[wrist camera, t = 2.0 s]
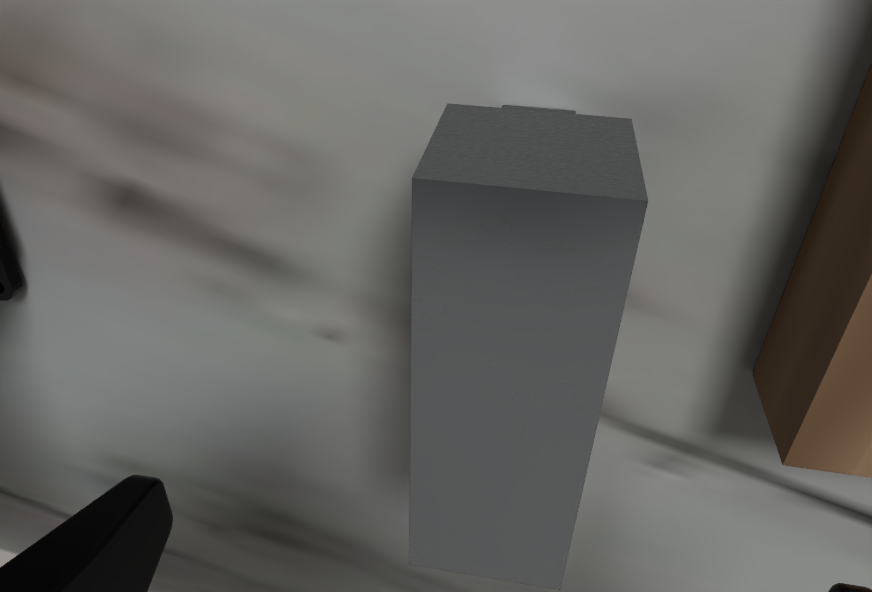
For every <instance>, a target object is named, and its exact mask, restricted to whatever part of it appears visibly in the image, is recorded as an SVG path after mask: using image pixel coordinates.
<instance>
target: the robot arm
mask: <svg viewBox="0 0 872 592" xmlns="http://www.w3.org/2000/svg"><path fill="white" fill-rule="evenodd" d="M22 286H23V285H22V279H21V277H20V274H19V272H18V269H17V266H16V264H15V261H14V259H13V256H12V253H11V251H10V248H9V245H8V243H7V240H6V238H5V235H4V232H3V230H2V227H1V224H0V301H5V300H9V299H10V298H12V297H13V296H14V295H16V294H17V293H18V292H19V291H20V290H21V289H22ZM172 521H173V516H172V511H171V507H170V504H169V501H168V498H167V494H166V491H165V488H164V484H163V482H162V481H161V480H160V479H159V478H155V477H149V476H142V475H132V476H129V477H127V478H126V479H124V480H123V481H121V482H120V483H118V484H117V485H116V486H114V487H113V488H111V489H110V490H109V491H107V492H106V493H104V494H103V495H101V496H100V497H99V498H97V499H96V500H94V501H93V502H92V503H90V504H89V505H87V506H86V507H85V508H83V509H82V510H80V511H79V512H78V513H76V514H75V515H73V516H72V517H71V518H69V519H68V520H66V521H65V522H64V523H62V524H61V525H59V526H58V527H57V528H55V529H54V530H52V531H51V532H50V533H48V534H47V535H45V536H44V537H43V538H41V539H40V540H38V541H37V542H35V543H34V544H33V545H31V546H30V547H28V548H27V549H26V550H24V551H23V552H21V553H20V554H19V555H17V556H16V557H15V558H13V559H12V560H10V561H9V562H7V563H6V564H5V565H3V566H2V567H0V592H147V591H148V589H149V586H150V583H151V581H152V578H153V576H154V573H155V570H156V568H157V565H158V563H159V560H160V557H161V555H162V552H163V550H164V547H165V544H166V542H167V539H168V537H169V534H170V531H171V527H172ZM829 592H872V590H871V589H869V588H866V587H862V586H856V585H849V584H843V583H837V584H835V585H833V586H832V587H831V588H830V590H829Z"/></svg>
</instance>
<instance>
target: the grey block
mask: <svg viewBox="0 0 872 592" xmlns="http://www.w3.org/2000/svg"><path fill="white" fill-rule="evenodd" d="M647 203H648V198H647V193H646V188H645V183H644V178H643V173H642V168H641V163H640V158H639V153H638V149H637V144H636V139H635V134H634V129H633V124H632V119H628V118H616V117H604V116H592V115H580V114H576V111H571V110H559V109H546V108H534V107H522V106H510V105H503V107H502V108H495V107H483V106H471V105H459V104H447V106H446V108H445V110H444V112H443V114H442V116H441V118H440V120H439V122H438V125H437V127H436V129H435V131H434V133H433V135H432V137H431V139H430V141H429V144H428V146H427V148H426V150H425V152H424V154H423V156H422V158H421V160H420V163H419V165H418V167H417V169H416V171H415V173H414V175H413V177H412V271H411V398H410V525H409V564H410V565H416V566H422V567H428V568H434V569H440V570H446V571H452V572H458V573H464V574H470V575H476V576H482V577H488V578H494V579H499V580H505V581H511V582H517V583H523V584H529V585H535V586H541V587H547V588H553V589H559V590H560V587H561V583H562V578H563V574H564V570H565V565H566V561H567V556H568V552H569V548H570V543H571V539H572V534H573V530H574V525H575V521H576V517H577V512H578V508H579V503H580V499H581V495H582V490H583V486H584V481H585V477H586V472H587V468H588V464H589V459H590V455H591V450H592V446H593V442H594V437H595V433H596V428H597V424H598V420H599V415H600V411H601V406H602V402H603V397H604V393H605V389H606V384H607V380H608V375H609V371H610V367H611V362H612V358H613V353H614V349H615V344H616V340H617V336H618V331H619V327H620V322H621V318H622V314H623V309H624V305H625V300H626V296H627V291H628V287H629V283H630V278H631V274H632V269H633V265H634V261H635V256H636V252H637V247H638V243H639V239H640V234H641V230H642V225H643V221H644V216H645V212H646V208H647Z"/></svg>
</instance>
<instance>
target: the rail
mask: <svg viewBox="0 0 872 592" xmlns="http://www.w3.org/2000/svg"><path fill="white" fill-rule="evenodd" d="M752 374H753V377H754V380H755V383H756V386H757V389H758V392H759V395H760V398H761V401H762V404H763V407H764V410H765V413H766V416H767V419H768V422H769V425H770V428H771V431H772V434H773V437H774V440H775V443H776V446H777V449H778V452H779V455H780V458H781V461H782V464H783V465H786V466H793V467H800V468H807V469H815V470H822V471H829V472H836V473H843V474H850V475H858V476H865V477H872V64H871V67H870V69H869V72H868V75H867V77H866V80H865V82H864V85H863V88H862V90H861V93H860V95H859V98H858V101H857V103H856V106H855V108H854V111H853V114H852V116H851V119H850V121H849V124H848V127H847V129H846V132H845V134H844V137H843V140H842V142H841V145H840V147H839V150H838V153H837V155H836V158H835V160H834V163H833V166H832V168H831V171H830V173H829V176H828V179H827V181H826V184H825V186H824V189H823V192H822V194H821V197H820V199H819V202H818V205H817V207H816V210H815V212H814V215H813V218H812V220H811V223H810V225H809V228H808V231H807V233H806V236H805V238H804V241H803V244H802V246H801V249H800V251H799V254H798V257H797V259H796V262H795V264H794V267H793V269H792V272H791V275H790V277H789V280H788V282H787V285H786V288H785V290H784V293H783V295H782V298H781V301H780V303H779V306H778V308H777V311H776V314H775V316H774V319H773V321H772V324H771V327H770V329H769V332H768V334H767V337H766V340H765V342H764V345H763V347H762V350H761V353H760V355H759V358H758V360H757V363H756V366H755V368H754V371H753V373H752Z"/></svg>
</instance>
